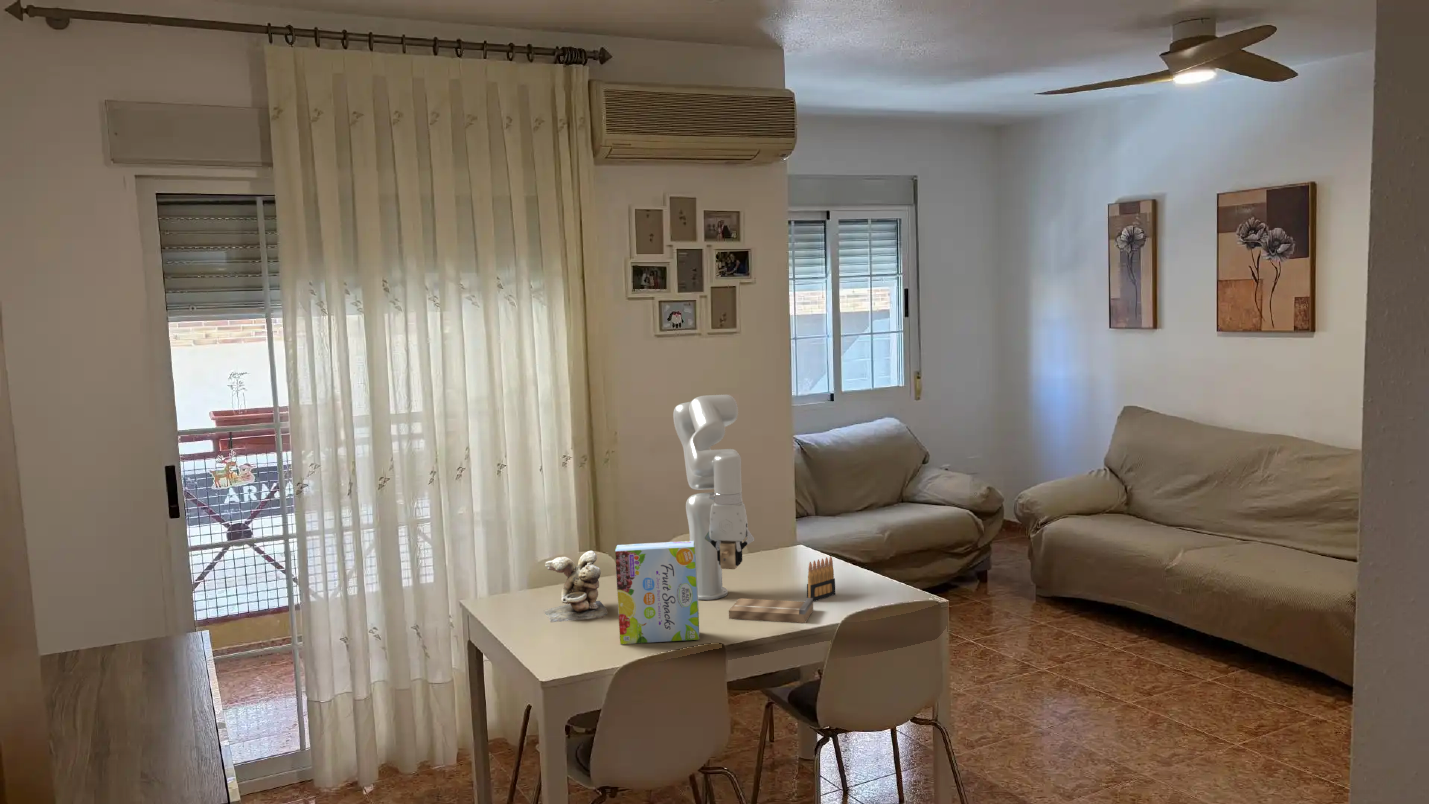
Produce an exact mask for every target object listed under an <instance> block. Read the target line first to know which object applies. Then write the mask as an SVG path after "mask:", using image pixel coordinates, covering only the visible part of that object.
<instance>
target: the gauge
mask: <svg viewBox="0 0 1429 804" xmlns="http://www.w3.org/2000/svg"><path fill="white" fill-rule="evenodd" d="M736 549H737V548H736V543H735V541H722V542H721V543H720V565H721V569H722V570H736V569H737V568H738V567H739V566H736V560H735V552H736Z"/></svg>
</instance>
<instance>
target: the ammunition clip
mask: <svg viewBox="0 0 1429 804" xmlns="http://www.w3.org/2000/svg"><path fill="white" fill-rule="evenodd" d="M833 561H834V560H833V557H832V556H829V558H828V557H825V559H824V558H823V557H822V558H821V561H820V559H817V562H816V560H813V562H812V561H809V563H808V568H807V569H808V572H807V573H808V575H807V584H806V599H807V598H813V602H817V601H820V600H822V599H826V598H829V597H833V596H836V594H837V593H836V579H835V578H834V577H835V576H834V575H835V574H834V563H833ZM816 600H817V601H816Z"/></svg>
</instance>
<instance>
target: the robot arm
mask: <svg viewBox="0 0 1429 804" xmlns="http://www.w3.org/2000/svg"><path fill="white" fill-rule="evenodd" d="M738 416H739V407H738V403H737V400H736V399H735V397H733V396H732V395H731V394H713V395H712V394H710V395H707V394H706V395H700V396H697V397H695V398H693V399H692V400H691V401H688V402H687V401H686V402H683V403H682V402H681V403H679V404H677V405H676V406H675V407H674V409H673V414H672V417H673V425H674V429H675V432H676V434H677V437H678V439H679V441H680V443H681V446H682V449H683V456H684V464H685V474H686V480H687V483H688V486H689V488H691V489H692V490H696V491H697V490H698V491H700V490H701V491H706V490H714V491H711V492H701V493H695V494H692V495H690V496H689V497H688V498H687V500H686V502H685V512H686V517H687V518H686V519H687V522H688V523H687V525H688V529H689V530H688V532H689V541H694V543H695V554H696V569H697V585H698V601H699V600H700V601H710V600H718V599H721V598H724V597H726V596H727V595H728V588H727V587H724V586H723V569H721V565H720V543H721V542H722V541H735V543H736V548H737V549H736V552H735V560H736V566H738V567H739V566H740V565H741V563H743V550H744V549H745V548H746V546H748V545H750V544H751V543H753V542H754V541H755V537H754V536H753V535H752V533H751V531H750V530H749V525H748V516H747V510H746V506H745V505H746V504H745V503H744V502H743V492H742V491H743V490H742V485H743V484H742V457H741V454H739V452H738V451H737V450H736V449H733V448H724V449H712V446H715V445H716V444H718V443H720V442H721V441H722V440H723V439H724V437H725V434H726V427H729V426H730V425H732V424H734V423H735V422H736V421H737V419H738Z"/></svg>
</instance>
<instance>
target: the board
mask: <svg viewBox="0 0 1429 804" xmlns="http://www.w3.org/2000/svg"><path fill="white" fill-rule="evenodd" d="M813 611H814V601H813V598H807V597H806V600H805V601H794V600H775V599H762V598H761V599H758V598H742V597H741V598H738V599H737V601H736V602H735V603H734V604H733V605H732V606H731V607H730V609H729V610H728V619H730V620H731V619H732V620H745V621H746V620H749V621H764V622H767V621H768V622H770V621H771V622H782V623H783V622H784V623H800V624H806V622H807V621H808V619H809V618H810V616H812V615H811V614H812V613H813Z"/></svg>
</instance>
